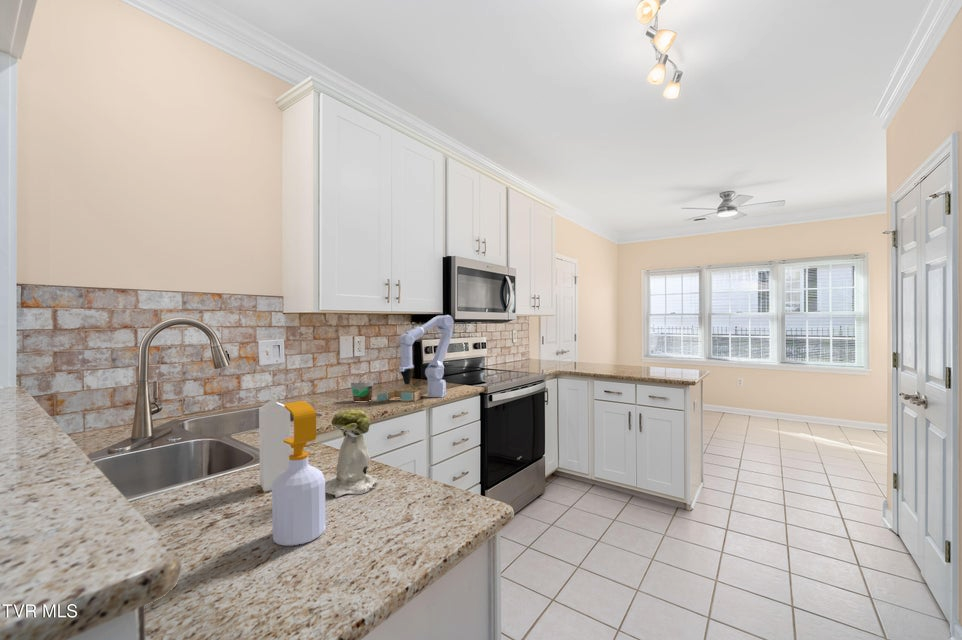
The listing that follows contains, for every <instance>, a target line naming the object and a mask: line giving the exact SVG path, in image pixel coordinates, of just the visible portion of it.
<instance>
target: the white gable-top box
mask: <svg viewBox="0 0 962 640" xmlns="http://www.w3.org/2000/svg"><path fill="white" fill-rule="evenodd" d="M284 406H285V404H283V403H280V402H278V398H277V396H276V395H275V394H271V400H269V401H268V402H266V403H264V404H263V405H262V406H260V407H259V408H258V429H259V430H258V432H259V436H258V442H259V443H258V444H259V447H258V448H259V449H258V451H259V485H260V487H261V489H262V491H263V492H264V493H266V492H272V485H273V482H274V480H275V479H276V478H277V477H278V476H279V475H280V474H281V473H282V472H284V471H285V470H287V469H288V468H289V455H291V454H292V453H291V452H292V451H291V449H292V448H291V445H290V444H287V443H284V439H287V438H291V413H290V412H289V411H288V410H287V409H286V408H285V407H284Z"/></svg>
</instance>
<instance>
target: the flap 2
mask: <svg viewBox="0 0 962 640" xmlns="http://www.w3.org/2000/svg"><path fill="white" fill-rule="evenodd" d="M401 400H413V393H401Z"/></svg>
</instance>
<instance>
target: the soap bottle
mask: <svg viewBox="0 0 962 640" xmlns="http://www.w3.org/2000/svg"><path fill="white" fill-rule="evenodd" d="M284 405H285V406H284V407H285V408H286V409H287V410H288V411H289V412H290V415H292V417H293V437H290V438H287V439H284V443H287V444H290V445H291V449H293V453H291V455H289V468H288V469H287V470H285V471H284V472H282V473H281V474H280V475H279V476H278V477H277V478H276V479H275V480H274V482H273V485H272V490H271V501H272V503H271V504H272V505H271V506H272V507H271V508H272V510H271V511H272V513H271V514H272V515H271V516H272V517H271V519H272V539H273V542H274V543H276V544H277V545H279V546H284V547H288V546H289V547H292V546H294V545H295V546H300V545H303V544H307V543H309V542H312V541H314V540H316V539H318V538H320V536H322V535H323V534H324V532H325V531H326V528H327V527H326V526H327V525H326V523H327V522H326V519H327V516H326V512H327V511H326V492H325V480H326V478H325V475H324V473H323V472H322V471H321V470H320V469H318V468H317V467H315V466H312V465H310V464H309V452H306V451H304V447H306V446H307V443H309V442H312V441H315V440H316V439H317V413H316V410H315V408H314V407H313V406H312V405H311V404H310V403H308V402H307V401H306V400H305V401H304V400H299V401H292V402H286V403H284ZM299 544H300V545H299Z"/></svg>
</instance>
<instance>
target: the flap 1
mask: <svg viewBox="0 0 962 640" xmlns="http://www.w3.org/2000/svg"><path fill="white" fill-rule="evenodd" d="M386 400H387V401H388V392H383V393H377V394H376V402H382V401H386Z"/></svg>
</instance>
